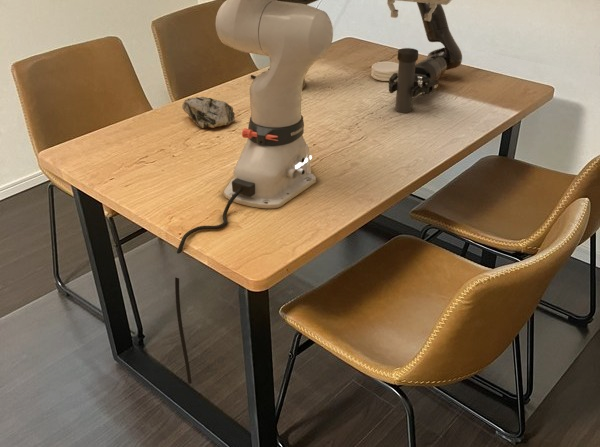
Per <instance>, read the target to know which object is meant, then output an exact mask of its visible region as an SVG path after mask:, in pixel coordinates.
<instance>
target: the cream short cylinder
mask: <svg viewBox="0 0 600 447" xmlns="http://www.w3.org/2000/svg"><path fill="white" fill-rule="evenodd" d="M398 67H399V62H395V61H378V62H375V63H373V64H372V65H371V70H370V71H371V72H370V76H371V78H372V79H374V80H376V81H381V82H389V79H390V77H391V76H392V75H393V74H394V73H398Z"/></svg>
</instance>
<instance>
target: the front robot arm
mask: <svg viewBox="0 0 600 447" xmlns="http://www.w3.org/2000/svg"><path fill="white" fill-rule="evenodd" d="M397 1H400V2H409V3H410V2H411V3H417V2H420V3H430V8H431V10H430V11H429V13H426V14H425V15H424V17H425V18H424V21H431V17H432V13H433V11H434V10H435V9H436V7H437V4H441V5H442V6H447V5H449V4H450V3H451V2H452V1H453V0H397ZM394 3H396V0H387V6H388V8H389V11H390V18H394V19H397V18H398V17H399V9H396V7H395V4H394ZM215 31H216V35H217V37H218V39H219V41H220V42H221V43H222V44H223V45H225V46H226V47H229V48H231V49H234V50H236V51H239V52H240V53H246V54H252V55H259V56H266V57H268V59H269V68H268V69H269V70H268V69H267V70H265V71H266V72H265V71H263V72H264V73H262V72H261V73H262V74H261V73H260V74H258V75H256V78H253V80H252V82H251V84H250V86H249V101H250V102H249V103H250V117H249V123H248V126H247V128H245V127H244V128H243V129H242V131H241V137H242V138H244V139H247V140H246V142H245V144H244V146H243V148H242V151H241V153H240V154H239V157H238V159H237V161H236V163H235V166H234V167H233V168H234V169H233V177H232V178H231V180H230V181H229V183H228V184H227V186H226V187H225V188H224V190H223V196H224V198H225V199H228V202H226V203H227V204H226V205H225V208H224V210H223V211H222V212H223V213H222V221H223V222H222V223H221V224H216V225H200V226H196V227H194V228H191V229H190V230H187V231H186V233H184V234H183V236H182V238H181V240H180V242H179V244H178V247H177V250H176V254H181V253H182V251H183V248H184V245H185V243H186V241H187V239H188V238H189V236H191V235H192V234H194V233H196V232H199V231H205V230H207V231H209V230H211V231H213V230H214V231H215V230H220V229H223V228H225V227H226V226H227V225H228V218H227V214H228V213H229V210H230V208H231V206H232V204H233V203H237V204H239V205H244V206H248V207H252V208H258V209H278V208H280V207H283V205H285V204H286V203H288V202H289V201H292V199H294V198H295V197H296V196H298V195H299V194H301V193H303V192H304V191H305V190H307V189H308V188H309V187H311V186H313V185H314V184H316V182H317V176H316V175H315V174H314V173H312V167H311V160H312V155H311V154H310V147H309V145H308V144H307V142H306V140H305V138H304V133H305V132H304V131H305V130H304V127H305V121H304V116H303V115H302V97H303V96H302V95H303V89H302V85H303V81H304V78H305V77H306V75H307V74H308V71H309V70H310V68H312V66H313V65H314V64H315V63H317V61H319V60H321V59H322V58H323V57H324V56H325V55H327V53H328V51H329V50H330V48H331V45H332V43H333V38H334V26H333V22H332V21H331V18H330V16H329V14H328V13H327V12H326V11H324V10H322V9H319V8H317V7H315V6H311V5H310V4H308V5H306V4H300V3H291V2H283V1H277V0H225V1H224V2H222V4H221V6H220V7H219V8H218V10H217V13H216V16H215ZM174 285H175V286H174V289H175V291H174V292H175V307H176V317H177V318H176V319H177V324H178V331H179V337H180V342H181V347H182V348H181V349H182V352H183V358H184V364H185V371H186V375H187V376H186V378H187V384H189V385H190V384H192V383H193V381H192V374H191V368H190V362H189V356H188V350H187V345H186V339H185V332H184V328H183V320H182V312H181V299H180V278H179V277H174Z"/></svg>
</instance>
